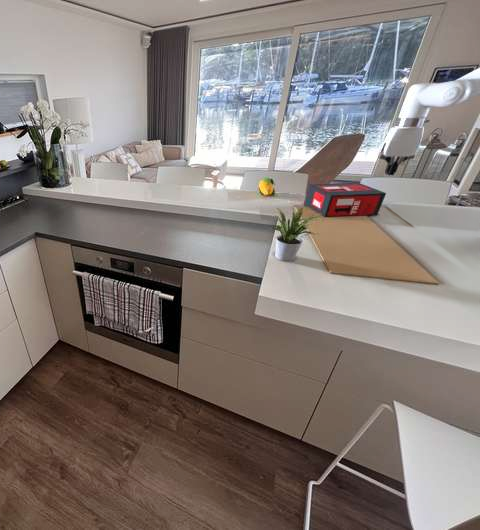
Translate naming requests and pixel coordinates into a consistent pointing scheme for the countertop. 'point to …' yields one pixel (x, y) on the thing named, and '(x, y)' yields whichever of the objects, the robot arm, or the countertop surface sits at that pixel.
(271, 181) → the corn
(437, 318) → the countertop surface
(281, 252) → the house plant
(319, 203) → the cleaning product box
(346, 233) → the mat
